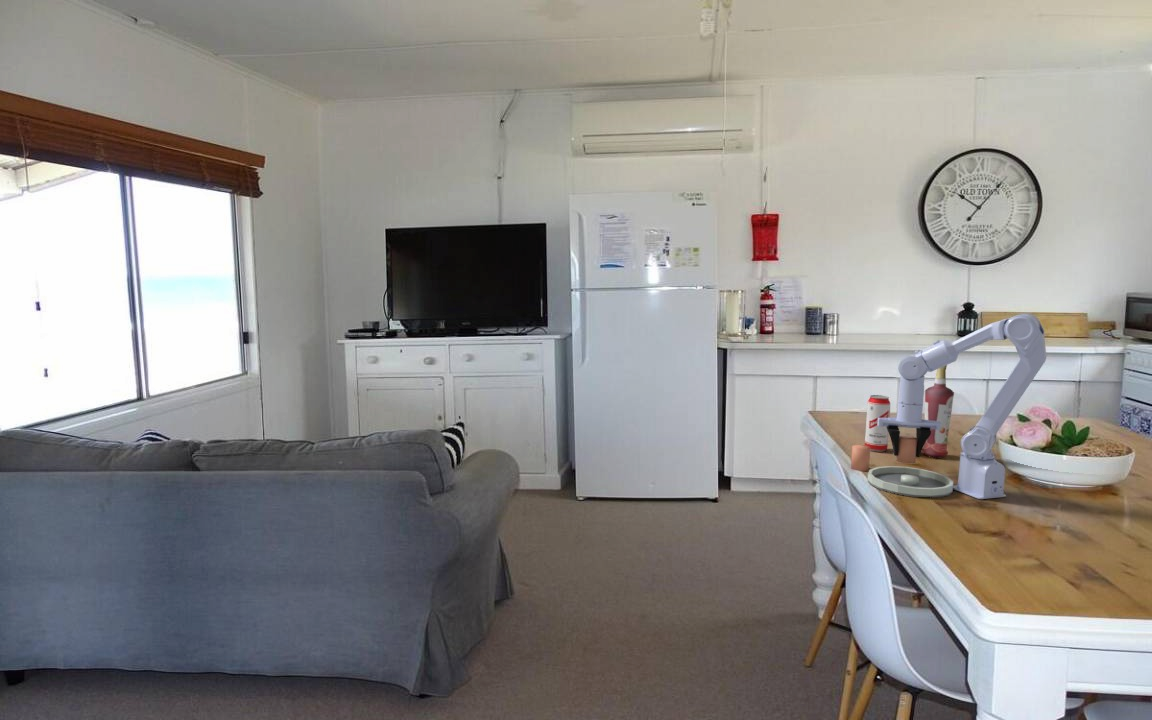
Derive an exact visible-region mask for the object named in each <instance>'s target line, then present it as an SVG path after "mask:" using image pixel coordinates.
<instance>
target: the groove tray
mask: <svg viewBox="0 0 1152 720" xmlns="http://www.w3.org/2000/svg"><path fill="white" fill-rule="evenodd" d="M867 483H868V484H869V485H870V486H871V487H873V488H875V489H876V490H879V489H880V491H882V490H884V491H883V492H885V491H887V492H886V493H889V492H891V493H890V494H892V493H895V494H894V495H897V494H899V495H898V496H902V495H904V496H903V497H909V496H910V498H918V497H930V498H929V499H935V498H934V497H939V498H945V497H948V496H951V495H952V493H953V490H954V489H953V485H954V480H953V479H951V478H950V477H949V476H947V475H944V474H941V473H938V472H935V471H932V470H927V469H922V468H916V467H911V466H910V467H909V466H896V465H895V466H891V465H887V466H886V465H885V466H877V467H873V468H869V470H868V471H867ZM931 497H932V498H931Z"/></svg>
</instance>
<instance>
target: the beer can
mask: <svg viewBox="0 0 1152 720" xmlns="http://www.w3.org/2000/svg"><path fill="white" fill-rule="evenodd" d="M889 398H890V397H889V396H887V395H881V394H872V395H869V399H868V400H867V406H866V407H867V409H866V419H865V421H866V422H865V423H866V424H865V438H864V445H865V446H869V447H870V452H876V453H883V452H882V451H884V452H885V451H887V450H888V446H889V445H888V442H889V432H888V430H887V427H886V426H883V427H880V426H878V425H877V422H878V418H891V417H890V416H891V402H890V399H889Z"/></svg>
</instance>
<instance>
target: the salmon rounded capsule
mask: <svg viewBox="0 0 1152 720" xmlns="http://www.w3.org/2000/svg"><path fill="white" fill-rule="evenodd" d="M916 451H917V438H916V437H915V436H910V435H909V436H907V435H900V436H899V442H898V456H896V458H895V460H896V461H897V462H899V463H903V464H915V463H916V462H917V457H916Z"/></svg>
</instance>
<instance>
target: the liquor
mask: <svg viewBox="0 0 1152 720" xmlns="http://www.w3.org/2000/svg"><path fill="white" fill-rule="evenodd" d="M947 366H948V365H946V366H943V367H941V368H939V369H937V370H936V374H935V379H934V385H933V386H930V387H928V388H926V389H924V420H931V421H940V422H941V430H936V429H930V431H931V435H930V436H929V438H928V439H927V441H926V442H925V444H924V446H923V448H922V451H921V452H922V453H924V455H925V456H926V455H927V457H929V456H930V457H929V458H934V457H936V458H935V459H940V458H944V457H945V456H946V455H948V454H949V452H948V450H947V449H948V443H949V442H948V440H949V434H950V433H949V432H950V431H949V430H950V424H951V417H952V410H953V403H954V395H955V392H954V391H953V390H952V389H951V388H949V387H947V379H946V377H947V376H946V375H947V374H946V370H947Z"/></svg>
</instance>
